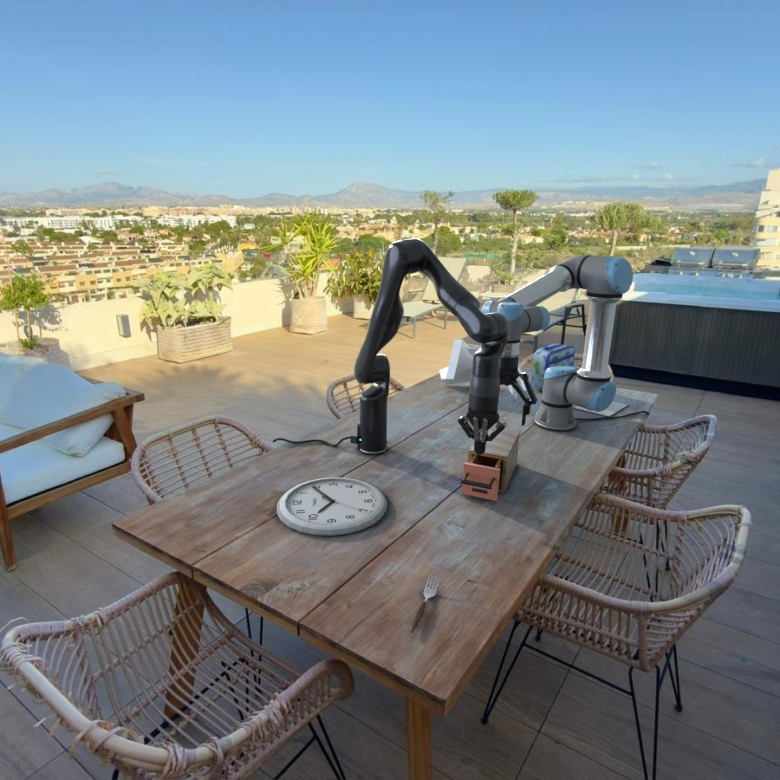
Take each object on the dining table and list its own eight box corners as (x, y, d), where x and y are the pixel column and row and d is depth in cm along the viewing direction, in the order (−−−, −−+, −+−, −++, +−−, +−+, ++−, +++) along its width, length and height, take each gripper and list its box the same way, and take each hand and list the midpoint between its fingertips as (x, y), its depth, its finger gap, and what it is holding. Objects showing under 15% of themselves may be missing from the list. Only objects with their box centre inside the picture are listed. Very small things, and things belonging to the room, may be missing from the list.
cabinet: (503, 493, 151) (507, 456, 148) (466, 485, 155) (468, 450, 152) (516, 464, 170) (519, 431, 166) (483, 458, 174) (485, 426, 170)
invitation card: (608, 416, 214) (573, 407, 224) (608, 416, 214) (573, 408, 224) (628, 404, 229) (594, 396, 238) (628, 405, 229) (594, 397, 238)
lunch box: (547, 395, 239) (552, 351, 233) (526, 390, 247) (530, 347, 240) (574, 384, 257) (579, 343, 251) (554, 380, 264) (558, 339, 258)
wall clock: (392, 527, 129) (268, 531, 127) (391, 533, 130) (269, 537, 127) (383, 473, 158) (282, 475, 155) (383, 478, 158) (282, 480, 156)
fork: (404, 633, 98) (405, 624, 97) (428, 582, 112) (428, 574, 112) (418, 637, 97) (418, 628, 97) (440, 584, 111) (440, 576, 111)
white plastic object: (461, 429, 252) (437, 405, 227) (444, 352, 274) (420, 323, 250) (535, 404, 240) (518, 377, 215) (510, 326, 262) (492, 293, 237)
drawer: (492, 511, 139) (494, 479, 137) (456, 503, 143) (458, 472, 140) (510, 471, 162) (512, 444, 159) (478, 466, 166) (480, 438, 163)
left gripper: (455, 392, 133) (451, 454, 138) (507, 399, 128) (501, 463, 133) (463, 384, 139) (459, 444, 145) (512, 390, 135) (507, 452, 140)
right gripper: (462, 353, 158) (459, 419, 165) (547, 362, 149) (540, 431, 156) (469, 348, 165) (465, 411, 171) (550, 356, 156) (543, 422, 162)
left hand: (479, 453), depth 139 cm, fingers closed
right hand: (501, 421), depth 163 cm, fingers open, 13 cm apart
